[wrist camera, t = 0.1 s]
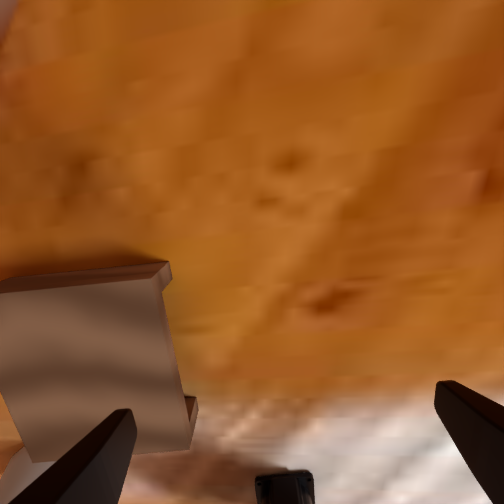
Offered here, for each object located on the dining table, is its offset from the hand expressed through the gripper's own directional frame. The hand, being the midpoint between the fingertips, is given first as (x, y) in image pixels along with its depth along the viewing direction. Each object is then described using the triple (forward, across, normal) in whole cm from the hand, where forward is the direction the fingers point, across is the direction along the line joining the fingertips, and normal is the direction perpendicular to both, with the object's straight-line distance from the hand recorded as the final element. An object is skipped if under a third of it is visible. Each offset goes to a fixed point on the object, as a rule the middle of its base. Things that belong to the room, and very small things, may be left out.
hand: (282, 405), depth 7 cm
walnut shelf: (+15, +15, +7) cm, 22 cm away
